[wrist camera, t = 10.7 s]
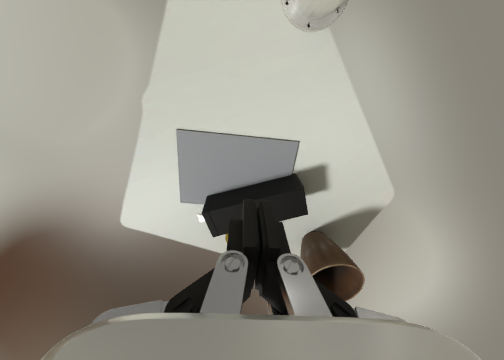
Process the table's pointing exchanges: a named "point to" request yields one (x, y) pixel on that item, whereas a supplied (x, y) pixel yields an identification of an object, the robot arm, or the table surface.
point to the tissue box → (277, 191)
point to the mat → (228, 162)
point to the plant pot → (331, 265)
